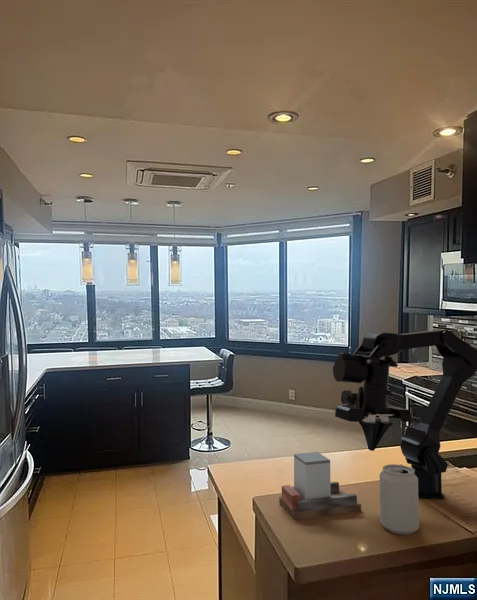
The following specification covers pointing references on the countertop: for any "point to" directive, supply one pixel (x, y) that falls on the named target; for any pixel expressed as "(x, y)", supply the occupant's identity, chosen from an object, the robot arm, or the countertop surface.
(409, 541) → the countertop surface
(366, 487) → the countertop surface
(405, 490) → the can
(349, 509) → the grey rail holder
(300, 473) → the grey rectangular box
